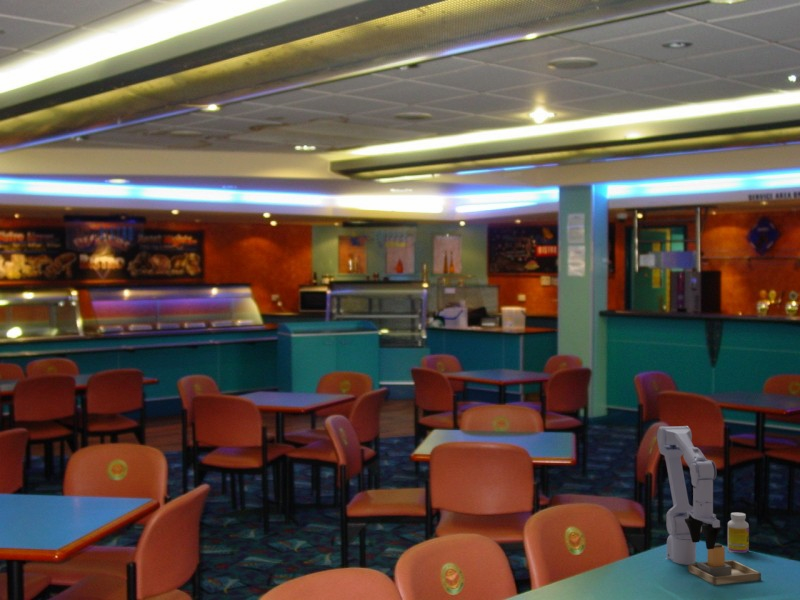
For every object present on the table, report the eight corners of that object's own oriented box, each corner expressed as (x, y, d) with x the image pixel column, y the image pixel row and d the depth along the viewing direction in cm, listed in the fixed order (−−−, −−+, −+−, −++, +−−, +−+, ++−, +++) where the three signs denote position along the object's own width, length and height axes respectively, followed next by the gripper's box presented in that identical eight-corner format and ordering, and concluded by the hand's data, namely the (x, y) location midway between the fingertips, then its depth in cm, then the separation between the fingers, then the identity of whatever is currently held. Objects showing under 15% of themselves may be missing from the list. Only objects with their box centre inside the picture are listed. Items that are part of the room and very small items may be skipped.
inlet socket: (698, 573, 306) (698, 562, 306) (719, 571, 309) (719, 560, 308) (710, 580, 300) (710, 568, 300) (731, 577, 302) (731, 566, 302)
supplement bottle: (750, 555, 328) (750, 516, 328) (728, 554, 330) (729, 516, 329) (747, 550, 335) (747, 511, 334) (726, 549, 336) (726, 511, 336)
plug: (707, 568, 305) (707, 543, 305) (718, 567, 306) (719, 542, 306) (713, 571, 303) (713, 546, 302) (724, 570, 304) (724, 545, 303)
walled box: (687, 574, 310) (687, 564, 309) (733, 569, 314) (733, 559, 314) (714, 588, 296) (714, 578, 296) (760, 583, 300) (760, 573, 300)
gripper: (728, 505, 298) (728, 550, 298) (700, 494, 312) (700, 538, 312) (708, 507, 296) (708, 552, 296) (680, 496, 310) (680, 539, 310)
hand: (702, 545), depth 304 cm, fingers open, 7 cm apart
